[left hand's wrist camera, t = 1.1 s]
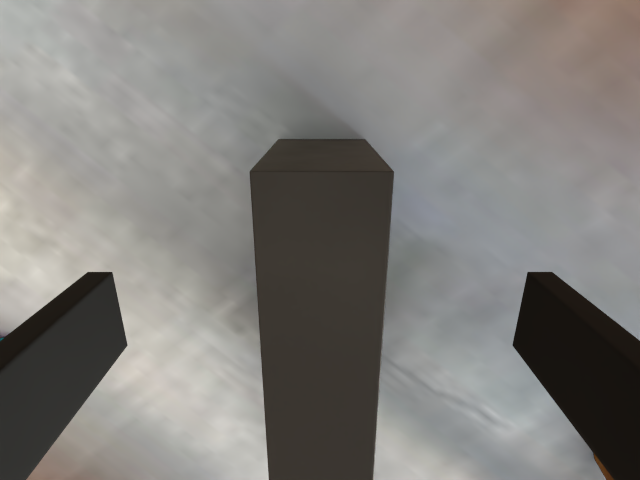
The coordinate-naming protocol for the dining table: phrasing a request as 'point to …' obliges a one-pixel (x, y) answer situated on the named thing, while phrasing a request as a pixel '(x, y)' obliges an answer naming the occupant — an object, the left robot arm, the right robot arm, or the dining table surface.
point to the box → (321, 303)
